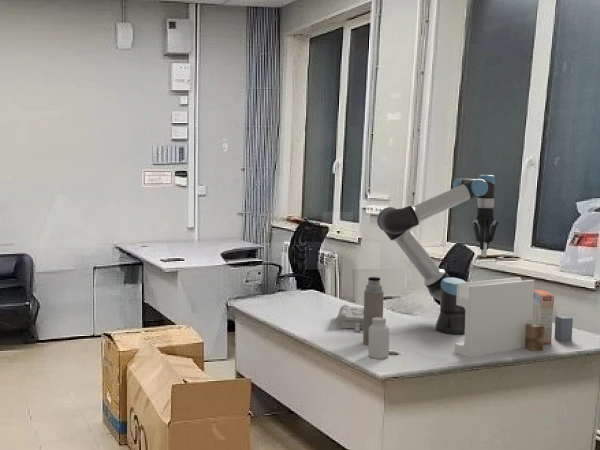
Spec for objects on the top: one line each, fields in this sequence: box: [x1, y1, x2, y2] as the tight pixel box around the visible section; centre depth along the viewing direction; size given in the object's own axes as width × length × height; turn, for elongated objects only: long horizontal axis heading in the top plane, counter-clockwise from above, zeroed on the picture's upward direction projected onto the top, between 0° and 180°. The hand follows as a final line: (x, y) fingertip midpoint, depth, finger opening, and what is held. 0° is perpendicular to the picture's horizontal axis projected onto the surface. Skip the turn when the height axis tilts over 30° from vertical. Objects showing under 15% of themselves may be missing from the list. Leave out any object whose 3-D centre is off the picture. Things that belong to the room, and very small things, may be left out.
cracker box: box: [532, 289, 555, 345], centre depth 266 cm, size 14×6×21 cm, turn 172°
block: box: [454, 276, 535, 358], centre depth 250 cm, size 35×8×28 cm, turn 119°
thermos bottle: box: [362, 276, 385, 347], centre depth 256 cm, size 8×8×28 cm
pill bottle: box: [367, 317, 390, 360], centre depth 238 cm, size 8×8×15 cm
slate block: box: [554, 315, 574, 342], centre depth 267 cm, size 5×5×10 cm
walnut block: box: [525, 324, 544, 352], centre depth 251 cm, size 5×5×10 cm
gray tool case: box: [335, 304, 364, 332], centre depth 289 cm, size 19×28×8 cm
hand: (483, 256), depth 293 cm, fingers closed
